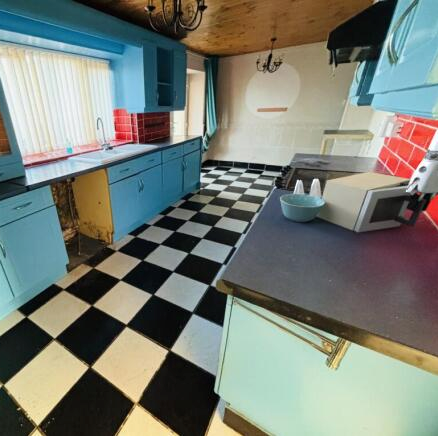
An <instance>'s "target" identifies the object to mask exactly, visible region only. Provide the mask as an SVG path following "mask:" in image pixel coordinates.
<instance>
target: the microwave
mask: <svg viewBox="0 0 438 436" xmlns="http://www.w3.org/2000/svg"><path fill="white" fill-rule="evenodd" d="M410 180H411V178H406V177H400V176H396V175H389V174H384V173H379V172H373V171H367V172H363V173H357V174H352V175H347V176H341V177H338V178H331V179H328V180H326V181H325V187H324V189H323V193H322V195H321V199H322V200H323V201H324V202H325V204H324V206H323V207H322V208H321V210H320V211H319V212H318V214H317V215H316V217H317V218H319V219H322V220H324V221H327V222H330V223H331V224H335V225H337V226H340V227H342V228H345V229H348V230H351V231H354V229H355V226H356V224H357V221H358V218H359V215H360V212H361V210H362V207H363V204H364V201H365V198H366V196H367V193H368V191H370V190H378V189H386V188H394V187H402V186H408V185H409V182H410Z"/></svg>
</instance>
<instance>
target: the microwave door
mask: <svg viewBox="0 0 438 436" xmlns="http://www.w3.org/2000/svg"><path fill="white" fill-rule="evenodd" d="M407 190H408V186H402V187H394V188H386V189H378V190H370V191H368V193H367V196H366V198H365V201H364V204H363V207H362V210H361V212H360V215H359V218H358V221H357V224H356V226H355V229H354V230H353V231H354V232H356V233H363V232H370V231H375V230H376V231H377V230H383V229H390V228H395V227H396V228H397V227H400V226H401V225H404V226H407V227H411V228H412V227H413V228H414V227H415V225H416V224H417V221H418V219H419V217H420V215H421V213H422V212H423V211H422V209H423V207H424V204H425V202H426V199H423V198H422V200H421V201H423V202H422V204H421V206H420V208H419V210H418V211H417V212H414V211H412V213H411V215H410V217H409V218H408V217H405V215H406V213H407V211H408V209H406V207H407V205H408V203H409V201H410V199H411V198H410V195H409V194H407V193H406V191H407Z"/></svg>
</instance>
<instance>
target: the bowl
mask: <svg viewBox="0 0 438 436" xmlns="http://www.w3.org/2000/svg"><path fill="white" fill-rule="evenodd" d="M304 194H305V193H304ZM304 194H294V193H289V194H284V195H281V196H280V197H279V201H280V205H281V210H282V215H284V217H286V218H287V219H288V220H290V221H292V222H298V223H307V222H311V221H312V220H313V219H315V218H316V217H317V215H318V212H319V211H320V210H321V208H322V207H323V206H324V204H325V202H324V201H323V200H322V198H321V197H320V198H318V197H314V196H310V195H309V194H305V195H304Z"/></svg>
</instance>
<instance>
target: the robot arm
mask: <svg viewBox="0 0 438 436" xmlns="http://www.w3.org/2000/svg"><path fill="white" fill-rule="evenodd" d="M425 152H426V153H425V154H424V156H423V159H422V160H421V162H420V163H419V164H418V166H417V167H416V169H415V171H414V172H413V173H412V176H411V177H410V179H411V180H410V182H409V185H408V190H407V191H406V193H407V194H409V195H410V198H411V199H410V201H409V203H408V205H407V207H406V209H407V211H412V212H413V211H414V212H417V211H418V210H419V208H420V206H421V204H422V202H423V201H421V200H422V198H423V199H426V202H425V204H424V207H423V209H422V211H421V212H426V211H427V209H428V207H429V206H430V204H431V201H434V199H435V197H436V196H438V128H437V129H436V131H435V132H434V135H433V137H432V139H431V142H430V144H429V145H428V148H427V150H426V151H425Z"/></svg>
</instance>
